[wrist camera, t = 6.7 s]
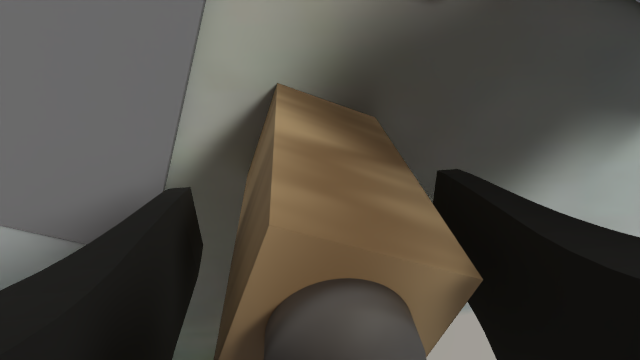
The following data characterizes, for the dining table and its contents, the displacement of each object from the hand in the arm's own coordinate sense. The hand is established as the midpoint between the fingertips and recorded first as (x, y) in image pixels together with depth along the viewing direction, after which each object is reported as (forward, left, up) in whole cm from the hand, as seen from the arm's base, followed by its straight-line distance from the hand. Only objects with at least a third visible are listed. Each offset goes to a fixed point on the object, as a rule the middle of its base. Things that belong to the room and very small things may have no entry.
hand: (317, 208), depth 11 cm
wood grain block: (0, 0, -5) cm, 5 cm away
